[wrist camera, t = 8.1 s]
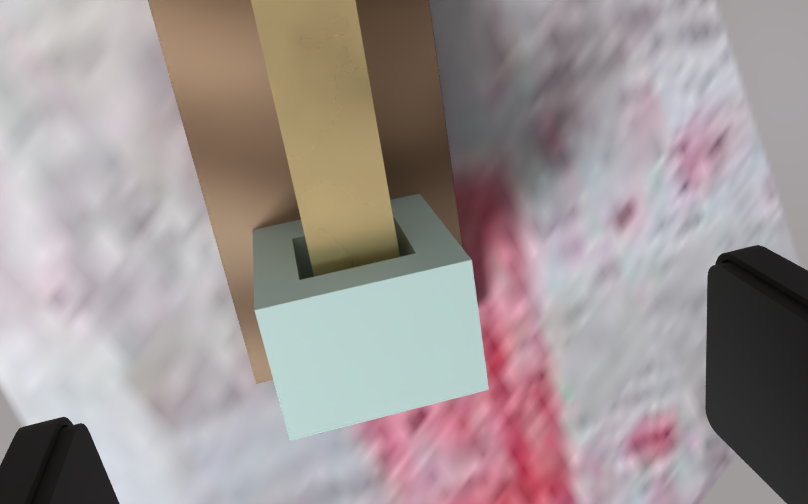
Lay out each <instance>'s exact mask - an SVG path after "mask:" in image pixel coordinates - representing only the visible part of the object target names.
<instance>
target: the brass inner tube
mask: <svg viewBox="0 0 808 504" xmlns="http://www.w3.org/2000/svg"><path fill="white" fill-rule="evenodd" d="M251 3H252V7H253V12H254V16H255V20H256V25H257V29H258V34H259V38H260V42H261V47H262V51H263V55H264V60H265V64H266V69H267V73H268V77H269V82H270V86H271V90H272V95H273V99H274V103H275V108H276V112H277V117H278V121H279V125H280V130H281V134H282V138H283V143H284V147H285V152H286V156H287V160H288V165H289V169H290V173H291V178H292V182H293V187H294V191H295V195H296V200H297V204H298V208H299V213H300V217H301V221H302V226H303V230H304V235H305V239H306V243H307V248H308V252H309V256H310V261H311V265H312V270H313V274H314V277H315V276H319V275H324V274H328V273H332V272H337V271H341V270H346V269H350V268H354V267H359V266H363V265H367V264H372V263H376V262H380V261H385V260H389V259H394V258H398V257H400V254H399V248H398V243H397V237H396V231H395V225H394V220H393V214H392V208H391V202H390V197H389V191H388V185H387V179H386V174H385V168H384V162H383V156H382V151H381V145H380V139H379V133H378V128H377V122H376V116H375V110H374V105H373V99H372V93H371V87H370V82H369V76H368V70H367V64H366V59H365V53H364V47H363V41H362V36H361V30H360V24H359V18H358V13H357V7H356V1H355V0H251Z"/></svg>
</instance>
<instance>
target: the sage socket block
mask: <svg viewBox="0 0 808 504" xmlns="http://www.w3.org/2000/svg"><path fill="white" fill-rule="evenodd" d="M390 202H391V208H392V214H393V220H394V225H395V231H396V237H397V243H398V248H399V254H400V257H398V258H394V259H389V260H385V261H380V262H376V263H372V264H367V265H363V266H359V267H354V268H350V269H346V270H341V271H337V272H332V273H328V274H324V275H319V276H315V277H314V274H313V270H312V265H311V261H310V256H309V252H308V248H307V243H306V239H305V235H304V230H303V226H302V221H301V220H296V221H291V222H287V223H282V224H278V225H273V226H268V227H264V228H259V229H255V230H252V233H253V273H254V310H255V314H256V318H257V322H258V325H259V329H260V333H261V336H262V340H263V344H264V347H265V351H266V355H267V358H268V362H269V366H270V369H271V373H272V377H273V381H274V384H275V388H276V392H277V395H278V399H279V403H280V406H281V410H282V414H283V417H284V421H285V425H286V428H287V432H288V436H289V440H290V441H292V440H295V439H299V438H303V437H307V436H311V435H315V434H319V433H323V432H326V431H330V430H334V429H338V428H342V427H346V426H350V425H354V424H357V423H361V422H365V421H369V420H373V419H377V418H381V417H385V416H388V415H392V414H396V413H400V412H404V411H408V410H412V409H416V408H419V407H423V406H427V405H431V404H435V403H439V402H443V401H447V400H450V399H454V398H458V397H462V396H466V395H470V394H474V393H478V392H481V391H485V390H489V388H488V381H487V373H486V365H485V358H484V350H483V342H482V335H481V327H480V319H479V312H478V304H477V296H476V289H475V281H474V273H473V266H472V259H471V258H470V257H469V256H468V254H467V253H466V252H465V251H464V249H463V248H462V247H461V246H460V244H459V243H458V242H457V240H456V239H455V238H454V237H453V235H452V234H451V233H450V232H449V230H448V229H447V228H446V227H445V225H444V224H443V223H442V221H441V220H440V219H439V218H438V216H437V215H436V214H435V213H434V211H433V210H432V209H431V207H430V206H429V205H428V204H427V202H426V201H425V200H424V199H423V197H422V196H421V195H420V194H415V195H411V196H406V197H401V198H397V199H392V200H390Z"/></svg>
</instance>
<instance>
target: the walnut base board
mask: <svg viewBox="0 0 808 504" xmlns="http://www.w3.org/2000/svg"><path fill="white" fill-rule="evenodd" d="M355 1H356V7H357V13H358V18H359V24H360V30H361V36H362V41H363V47H364V53H365V59H366V64H367V70H368V76H369V82H370V87H371V93H372V99H373V105H374V110H375V116H376V122H377V128H378V133H379V139H380V145H381V151H382V156H383V162H384V168H385V174H386V179H387V185H388V191H389V197H390V200H392V199H397V198H401V197H406V196H411V195H415V194H420V195H421V196H422V197H423V199H424V200H425V201H426V202H427V204H428V205H429V206H430V207H431V209H432V210H433V211H434V213H435V214H436V215H437V216H438V218H439V219H440V220H441V221H442V223H443V224H444V225H445V227H446V228H447V229H448V230H449V232H450V233H451V234H452V235H453V237H454V238H455V239H456V240H457V242H458V243H459V244H460V246H461V247H462V241H461V234H460V226H459V219H458V212H457V204H456V197H455V189H454V182H453V175H452V167H451V160H450V153H449V145H448V138H447V130H446V123H445V116H444V108H443V101H442V93H441V86H440V79H439V71H438V64H437V56H436V49H435V42H434V34H433V27H432V19H431V12H430V5H429V0H355ZM148 2H149V6H150V9H151V13H152V16H153V20H154V23H155V27H156V31H157V34H158V38H159V41H160V45H161V48H162V52H163V55H164V59H165V62H166V66H167V69H168V73H169V77H170V80H171V84H172V87H173V91H174V94H175V98H176V101H177V105H178V108H179V112H180V115H181V119H182V122H183V126H184V130H185V133H186V137H187V140H188V144H189V147H190V151H191V154H192V158H193V161H194V165H195V168H196V172H197V175H198V179H199V183H200V186H201V190H202V193H203V197H204V200H205V204H206V207H207V211H208V214H209V218H210V221H211V225H212V228H213V232H214V236H215V239H216V243H217V246H218V250H219V253H220V257H221V260H222V264H223V267H224V271H225V274H226V278H227V281H228V285H229V289H230V292H231V296H232V299H233V303H234V306H235V310H236V313H237V317H238V320H239V324H240V327H241V331H242V334H243V338H244V342H245V345H246V349H247V352H248V356H249V359H250V363H251V366H252V370H253V373H254V377H255V380H256V384H258V383H262V382H266V381H270V380H273V377H272V373H271V369H270V366H269V362H268V358H267V355H266V351H265V347H264V344H263V340H262V336H261V333H260V329H259V325H258V322H257V318H256V314H255V310H254V273H253V233H252V230H255V229H259V228H264V227H268V226H273V225H278V224H282V223H287V222H291V221H296V220H301V217H300V213H299V208H298V204H297V200H296V195H295V191H294V187H293V182H292V178H291V173H290V169H289V165H288V160H287V156H286V152H285V147H284V143H283V138H282V134H281V130H280V125H279V121H278V117H277V112H276V108H275V103H274V99H273V95H272V90H271V86H270V82H269V77H268V73H267V69H266V64H265V60H264V55H263V51H262V47H261V42H260V38H259V34H258V29H257V25H256V20H255V16H254V12H253V7H252V3H251V0H148Z"/></svg>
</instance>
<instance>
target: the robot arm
mask: <svg viewBox="0 0 808 504" xmlns="http://www.w3.org/2000/svg"><path fill="white" fill-rule="evenodd" d="M706 414H707V418H708V421H709V423H710V425H711V427H712V428H713V430H714V431H715V432H716V433H717V434H718V435H719V436H720V437H721V438H722V439H723V440H724V441H725V442H726V443H727V444H728V445H729V446H730V447H731V448H732V449H733V450H734V451H735V452H736V453H737V454H738V455H739V456H740V457H741V458H742V459H743V460H744V461H745V462H746V463H747V464H748V465H749V466H750V467H751V468H752V469H753V470H754V471H755V472H756V473H757V474H758V475H759V476H760V477H761V478H762V479H763V480H764V481H765V482H766V483H767V484H768V485H769V486H770V487H771V488H772V489H773V490H774V491H775V492H776V493H777V494H778V495H779V496H780V497H781V498H782V499H783V500H784V501H785V502H786V503H787V504H808V271H807V270H805V269H804V268H802V267H800V266H798V265H796V264H794V263H793V262H791V261H789V260H787V259H785V258H783V257H782V256H780V255H778V254H776V253H774V252H772V251H771V250H769V249H767V248H765V247H763V246H760V245H756V246H751V247H747V248H743V249H739V250H735V251H731V252H727V253H723V254H721V255H720V256H719V257H718V259H717V261H716V265H713V266H712V267H711V268H710V269H709V271H708V284H707V348H706ZM0 504H119V502H118V499H117V497H116V494H115V492H114V490H113V487H112V485H111V483H110V480H109V478H108V475H107V473H106V471H105V468H104V466H103V463H102V461H101V459H100V456H99V454H98V452H97V449H96V447H95V444H94V442H93V440H92V437H91V435H90V432H89V431H88V429H87V427H86V426H85V425H84V424H82V423H80V424H76V425H73V424H72V422H71V421H70V420H69V419H68V418H66V417H61V418H57V419H53V420H49V421H45V422H41V423H37V424H33V425H29V426H25V427H22V428H20V429H19V430H18V431H17V432H16V434H15V436H14V438H13V440H12V442H11V444H10V447H9V449H8V451H7V453H6V455H5V457H4V459H3V461H2V463H1V465H0Z"/></svg>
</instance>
